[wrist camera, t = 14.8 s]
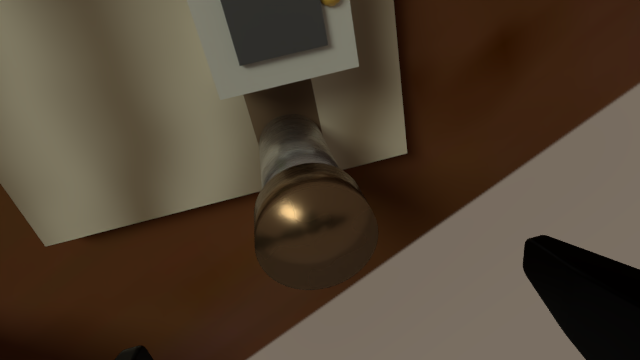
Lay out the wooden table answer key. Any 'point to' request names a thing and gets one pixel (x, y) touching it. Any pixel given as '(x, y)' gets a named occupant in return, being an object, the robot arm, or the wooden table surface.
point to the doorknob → (308, 210)
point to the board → (162, 112)
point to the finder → (273, 41)
